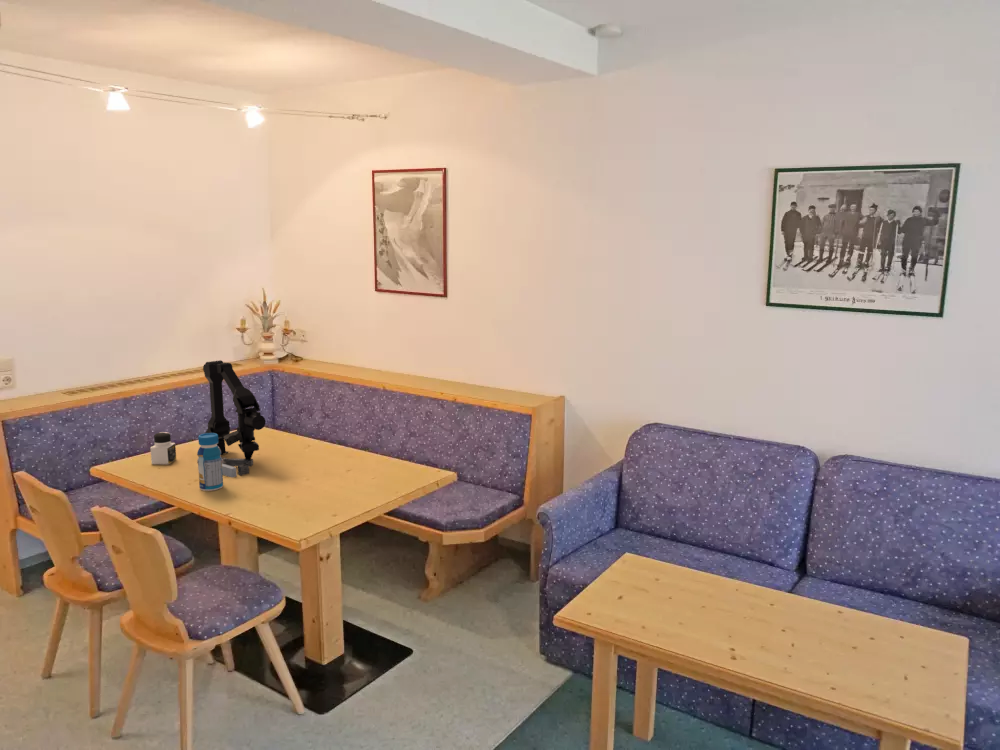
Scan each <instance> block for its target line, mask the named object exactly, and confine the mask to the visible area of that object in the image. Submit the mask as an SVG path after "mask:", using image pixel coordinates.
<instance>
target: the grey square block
mask: <svg viewBox="0 0 1000 750" xmlns="http://www.w3.org/2000/svg"><path fill="white" fill-rule="evenodd" d="M248 474H250V467H249V465H248V464H243V465H239V466H237V475H239V476H245V475H248Z"/></svg>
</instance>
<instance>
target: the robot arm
mask: <svg viewBox="0 0 1000 750" xmlns="http://www.w3.org/2000/svg"><path fill="white" fill-rule="evenodd" d="M202 371H203V374H204V377H205V378H206V380H207V381H208V384H209V398H210V399H209V400H210V411H211V412H210V413H211V415H210V416H211V417H210V418H209V420H208V422H207V429H206V431H205V432H204V434H205V433H216V434H218V444H217V445H218V446H219V448H220V450H221V456H222V455H226V454H229V451H227V450H226V446H228V447H229V446H232V445H233V444H235V443H238V442H239V443H238V444H237V446H238V447H239V449H240V450H241V452H242V453H243V456H244V459H252V457H253V454H254V452H257V451H259V450H260V445H259V444H258V442H257V441H256V436H255V430H256V431H260V430H262V429H264V428H265V426H266V424H267V423H266V421H267V420H266V419H265V417H264V416H263V415H262V413H261V412H260V411H261V408H260V404H259V402H258V400H257V398H256V396H255V395H254V394H253V392H252V391H251V389H248V388H246V387H245V386H244V385H243V383H242V382H241V380H240V378H239V376H238V375H237V373H236V372H235V370H234V368H233V365H232V363H231V362H224V361H223V360H221V359H220V360H213V361H206V362H205V364H203V367H202ZM224 381H225V383H226V385H227V387H228V388H229V390H230V392H231V393H232V403H233V405H234V407H235V413H237V422H238V424H237V427H236V430H235V431H231V427H230V420H227V418H226V416H225V412H224V397H223V396H224V395H223V382H224Z"/></svg>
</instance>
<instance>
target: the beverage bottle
mask: <svg viewBox="0 0 1000 750" xmlns="http://www.w3.org/2000/svg"><path fill="white" fill-rule="evenodd" d="M197 440H198V445H199V448H198V450H197V453H196V455H197V461H196V462H197V463H196V464H197V471H198V481H199V482H198V483H199V489H200V490H201V491H203V492H213V491H218V490H221V489H222V488H223V487H224V482H223V481H224V480H223V479H224V477H223V476H224V475H222V458H223V457H222V455H221V450H220V448H219V446H218V445H217V444H218V434H216V433H205V432H204V433H200V434H199V435H198V439H197Z"/></svg>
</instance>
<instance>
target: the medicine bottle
mask: <svg viewBox="0 0 1000 750" xmlns="http://www.w3.org/2000/svg"><path fill="white" fill-rule="evenodd" d="M153 438H154V445H153V446H150V458H151V459H150V461H151V464H152V465H170V464H171V463H173V462H174V461H176V460H177V451H176V443H175V442H172V440H171V439H172V437H171V433H170V432H168V431H167V432H166V431H165V432H164V431H160V432H157V433H155V434H154V435H153Z"/></svg>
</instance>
